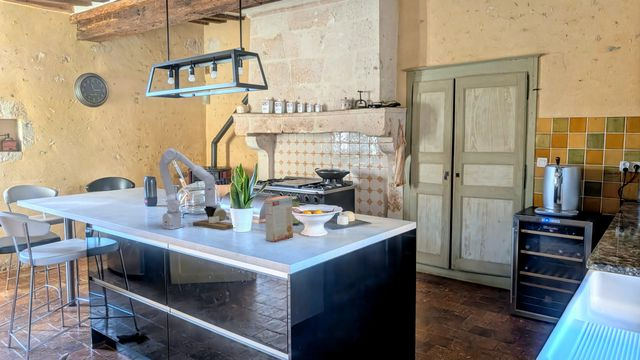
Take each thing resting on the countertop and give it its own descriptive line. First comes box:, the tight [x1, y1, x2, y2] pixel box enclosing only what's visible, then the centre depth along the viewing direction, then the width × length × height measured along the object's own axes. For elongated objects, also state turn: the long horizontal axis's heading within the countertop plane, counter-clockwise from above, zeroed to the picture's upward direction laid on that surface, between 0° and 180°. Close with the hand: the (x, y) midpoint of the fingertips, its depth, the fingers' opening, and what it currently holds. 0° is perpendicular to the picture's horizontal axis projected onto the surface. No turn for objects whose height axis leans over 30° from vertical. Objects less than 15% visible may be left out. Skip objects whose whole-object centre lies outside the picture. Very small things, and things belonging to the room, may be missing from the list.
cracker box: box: [264, 195, 294, 243], centre depth 226 cm, size 14×6×21 cm, turn 141°
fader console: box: [192, 218, 234, 231], centre depth 258 cm, size 10×24×2 cm, turn 57°
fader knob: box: [209, 216, 220, 223], centre depth 258 cm, size 5×3×3 cm, turn 147°
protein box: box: [272, 196, 300, 227], centre depth 264 cm, size 10×16×16 cm
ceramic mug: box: [213, 207, 230, 221], centre depth 279 cm, size 11×8×8 cm
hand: (210, 219), depth 260 cm, fingers closed
